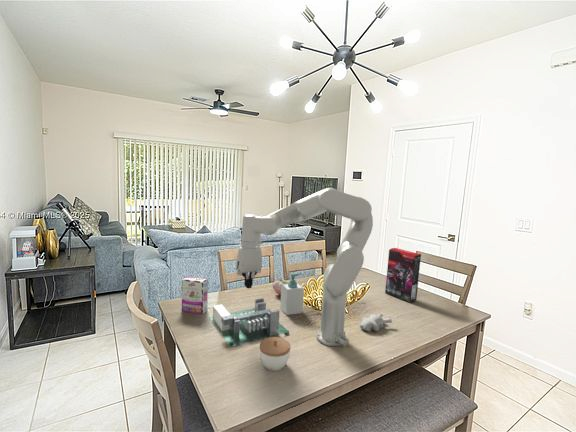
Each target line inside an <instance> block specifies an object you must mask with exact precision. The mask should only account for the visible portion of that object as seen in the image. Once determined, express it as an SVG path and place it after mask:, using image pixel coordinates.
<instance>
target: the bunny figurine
mask: <svg viewBox="0 0 576 432" xmlns="http://www.w3.org/2000/svg"><path fill="white" fill-rule="evenodd" d="M382 317H383V314H382V313H378V314H370V315H369V317H364V316H363V317H362V318H361V322H360V323H359V328H360V329H362V330H363V331H365V332H368V333H370V332H372V331H376V332H380V329H382V328H383V326H384V324H391V323H393V321H392V318H390V317H386V318H382Z"/></svg>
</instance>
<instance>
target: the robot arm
mask: <svg viewBox="0 0 576 432" xmlns="http://www.w3.org/2000/svg"><path fill="white" fill-rule="evenodd" d="M372 211H373V210H372V205H371V203H370V201H368V200H367V199H365V198H363V197H361V196H355V195H352V194H349V193H346V192H343V191H341V190H338V189H336V188H333V187H326V188H323V189H321V190H318V191H317V192H315V193H312V194H311V195H308V196H305V197H304V198H301V199H299V200H297V201H295V202H293V203H291V204H289V205H287V206H285V207H282V208H280V209H278V210H276V211H274V212H272V213H269V214H268V215H266V216H260V214H257V213H255V214H254V213H248V214H244V215H243V216H242V226H241V246H239V247H238V251H237V256H236V262H235V268H236V275H238V276H242V277H243V278H244V287H245V288H247V289H252V286H253V283H254V281H253V280H254V279H255V276H256V275H257V274H260V273H261V272H262V269H263V252H262V248H261V245H263V244H264V243H263V240H261V235H265V236H273V235H275V234H276V233H277V232H279V230H280V229H282V228H284V227H286V226H289V225H292V224H294V223H297V222H305V221H308V220H311V219H313V218H315V217H317V216H319V215H321V214H323V213H326V212H329V213H332V214H334V215H337V216H341V217H343V218H346V219H350V225H349V227H348V229H347V232H346V233H345V236H344V237H343V239H342V241H341V243H340V245H339V246H338V248H337V250H336V257H337V258H336V260H335V262H334V263H330V264H329V265H327V267H326V268H325V269H324V272H323V285H322V287H323V288H322V289H323V291H322V303H321V318H320V329H319V330H318V331H317V332H316V336H315V337H316V339H317V341H318V342H320V343H321V344H323V345H325V346H329V347H330V346H331V347H340V346H344V347H345V346H346V345H347V343H348V342H349V340H350V339H349V338H348V336H347V335H346V331H345V318H346V307H347V306H346V305H347V294H348V292H349V291H350V289H351V287H352V286H353V285H354V282H355V281H356V279H357V278H358V275H359V273H360V271H362V268H363V265H364V259H365V257H364V253H363V250H364V248H365V247H366V244H367V241H368V240H369V238H370V236H371V233H372V230H373V226H374V225H373V224H374V219H373V214H372Z"/></svg>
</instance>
